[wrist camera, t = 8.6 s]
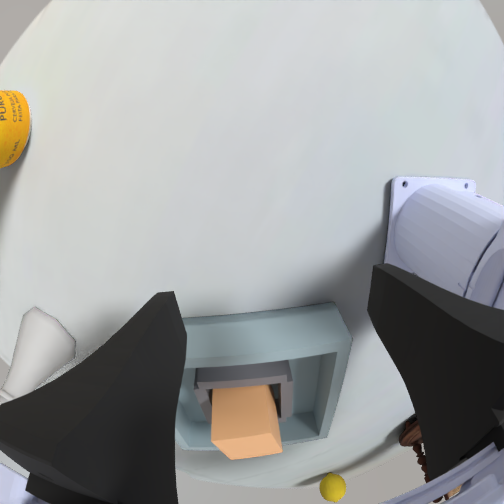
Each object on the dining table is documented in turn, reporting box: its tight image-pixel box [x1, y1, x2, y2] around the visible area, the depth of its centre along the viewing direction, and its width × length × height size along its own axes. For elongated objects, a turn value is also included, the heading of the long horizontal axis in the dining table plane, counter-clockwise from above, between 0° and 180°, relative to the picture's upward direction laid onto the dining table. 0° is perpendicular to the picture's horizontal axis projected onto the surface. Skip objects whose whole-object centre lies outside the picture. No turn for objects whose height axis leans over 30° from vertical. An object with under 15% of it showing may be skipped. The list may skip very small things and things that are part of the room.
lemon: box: [320, 473, 346, 502], centre depth 39 cm, size 6×6×8 cm
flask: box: [0, 307, 75, 403], centre depth 17 cm, size 7×7×10 cm
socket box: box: [175, 302, 353, 450], centre depth 23 cm, size 16×16×4 cm
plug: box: [211, 384, 283, 460], centre depth 20 cm, size 4×4×7 cm
